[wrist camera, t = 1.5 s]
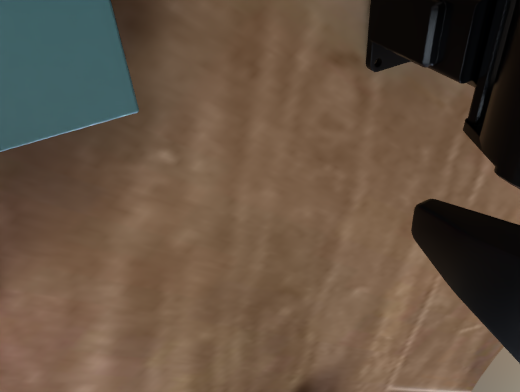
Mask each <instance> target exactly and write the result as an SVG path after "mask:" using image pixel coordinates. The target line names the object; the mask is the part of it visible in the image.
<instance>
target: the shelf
mask: <svg viewBox="0 0 520 392" xmlns="http://www.w3.org/2000/svg"><path fill="white" fill-rule="evenodd" d="M137 112H139V108H138V104H137V100H136V96H135V93H134V89H133V85H132V81H131V77H130V73H129V69H128V66H127V62H126V58H125V54H124V50H123V46H122V43H121V39H120V35H119V31H118V27H117V23H116V19H115V16H114V12H113V8H112V4H111V0H0V152H1V151H5V150H8V149H12V148H15V147H19V146H22V145H26V144H29V143H33V142H36V141H40V140H43V139H47V138H50V137H54V136H57V135H61V134H64V133H68V132H71V131H75V130H78V129H82V128H85V127H89V126H92V125H96V124H99V123H103V122H106V121H109V120H113V119H116V118H120V117H123V116H127V115H130V114H134V113H137Z"/></svg>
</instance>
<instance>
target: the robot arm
mask: <svg viewBox="0 0 520 392" xmlns="http://www.w3.org/2000/svg"><path fill="white" fill-rule="evenodd" d="M376 60H377V62H376V63H375V61H376ZM410 61H412V62H414V63H416V64H418V65H420V66H422V67H428V68H430V69H432V70H434V71H436V72H438V73H440V74H442V75H445V76H447V77H449V78H451V79H453V80H455V81H457V82H459V83H467V84H469V85H471V86H473V87H475V91H474V95H473V99H472V103H471V108H470V112H469V116H468V118H467V119H466V120H465V123H464V128H463V131H464V132H465V133H466V134H467V136H468V137H469V138H470V139H471V140H472V141H473V142H474V143H475V144H476V145H477V147H478V148H479V149H480V150H481V151H482V152H483V153H484V154H485V155H486V157H487V158H488V159H489V160H490V161H491V162H492V163H493V164H494V165H495V169H494V171H495V173H496V174H497V175H498V176H499V177H500V178H502V179H503V180H505V181H507V182H508V183H510V184H511V185H513V186H515V187H517V188H519V189H520V0H371V5H370V18H369V30H368V43H367V56H366V66H367V68H368V69H370V70H372V71H374V72H378V71H381V70H384V69H388V68H391V67H394V66H397V65H400V64H404V63H407V62H410ZM411 231H412V235H413V238H414V239H415V241H416V242H417V244H418V245H419V246H420V248H421V249H422V250H423V252H424V253H425V254H426V256H427V257H428V258H429V260H430V261H431V262H432V264H433V265H434V266H435V268H436V269H437V270H438V272H439V273H440V274H441V276H442V277H443V278H444V280H445V281H446V282H447V284H448V285H449V286H450V287H451V289H452V290H453V291H454V292H455V293H456V295H457V296H458V297H459V298H460V299H461V300H462V301H463V302H464V303H465V304H466V306H467V307H468V308H469V309H470V310H471V311H472V312H473V313H474V314H475V315H476V316H477V317H478V319H479V320H480V321H481V322H482V323H483V324H484V325H485V326H486V327H487V328H488V329H489V331H490V332H491V333H492V334H493V335H494V336H495V337H496V338H497V339H498V340H499V341H500V342H501V344H502V345H503V346H504V347H505V348H506V349H507V350H508V351H509V352H510V353H511V354H512V355H513V357H514V358H515V359H516V360H517V361H518V362H519V363H520V225H517V224H514V223H511V222H508V221H504V220H501V219H498V218H495V217H491V216H488V215H485V214H481V213H478V212H475V211H472V210H468V209H465V208H462V207H459V206H455V205H452V204H449V203H446V202H442V201H439V200H436V199H428V200H426V201H424V202H422V203H419V204H418V205H416V207H415V209H414V215H413V222H412V229H411Z"/></svg>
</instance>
